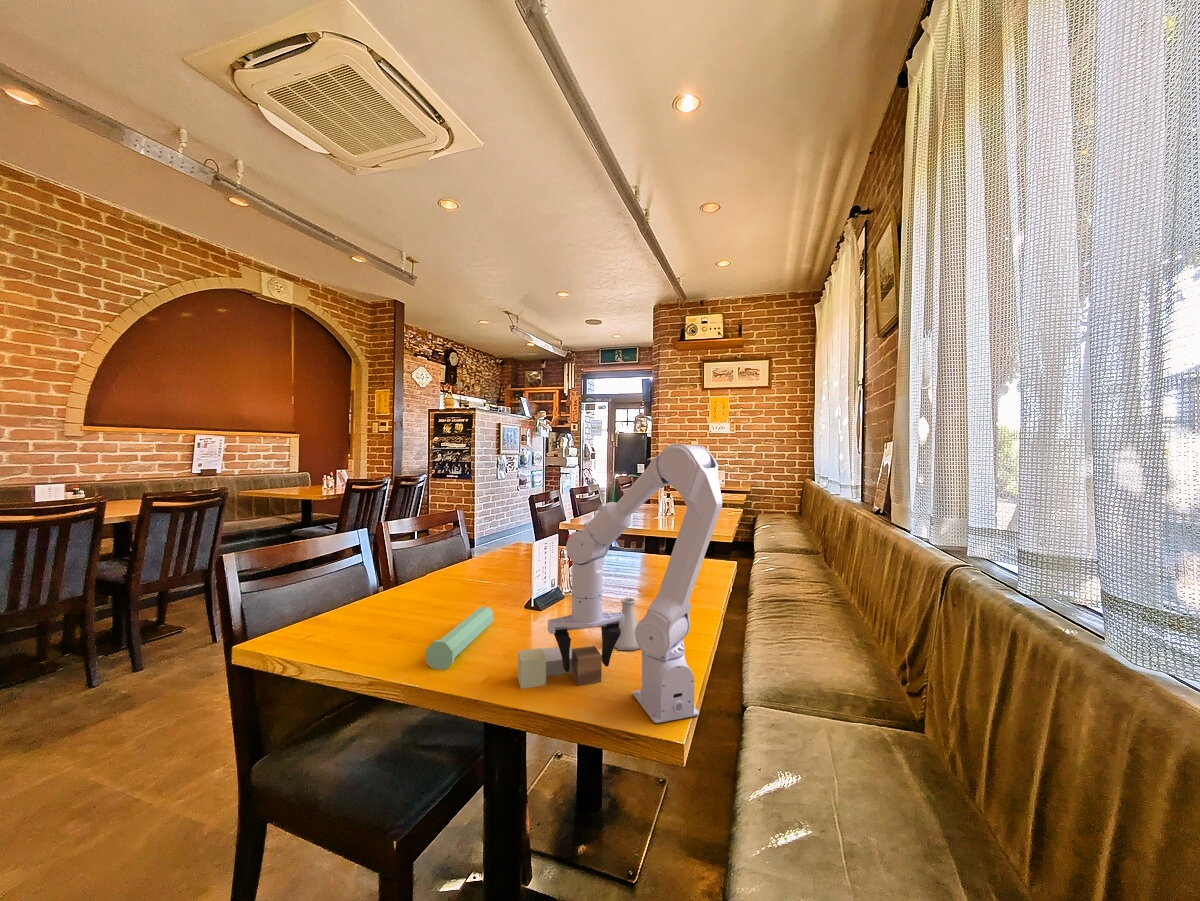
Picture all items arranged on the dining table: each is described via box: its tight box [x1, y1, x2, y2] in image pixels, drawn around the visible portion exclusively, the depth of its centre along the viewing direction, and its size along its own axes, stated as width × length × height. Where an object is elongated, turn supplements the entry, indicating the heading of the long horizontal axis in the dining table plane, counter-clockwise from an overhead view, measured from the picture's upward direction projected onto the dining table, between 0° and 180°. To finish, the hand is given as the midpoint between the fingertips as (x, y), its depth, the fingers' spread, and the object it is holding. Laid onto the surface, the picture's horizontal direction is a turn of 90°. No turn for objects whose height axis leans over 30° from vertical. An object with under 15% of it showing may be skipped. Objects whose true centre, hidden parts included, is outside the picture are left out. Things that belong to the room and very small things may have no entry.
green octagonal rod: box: [425, 606, 494, 671], centre depth 103 cm, size 6×6×25 cm
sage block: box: [517, 647, 547, 689], centre depth 86 cm, size 4×4×5 cm
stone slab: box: [542, 646, 573, 677], centre depth 92 cm, size 6×6×3 cm
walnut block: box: [571, 645, 603, 687], centre depth 87 cm, size 4×4×5 cm
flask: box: [614, 597, 641, 651], centre depth 103 cm, size 7×7×10 cm
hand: (586, 666), depth 87 cm, fingers open, 7 cm apart
